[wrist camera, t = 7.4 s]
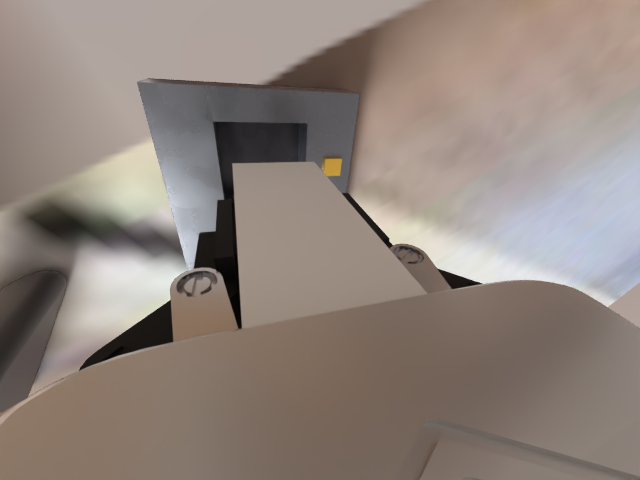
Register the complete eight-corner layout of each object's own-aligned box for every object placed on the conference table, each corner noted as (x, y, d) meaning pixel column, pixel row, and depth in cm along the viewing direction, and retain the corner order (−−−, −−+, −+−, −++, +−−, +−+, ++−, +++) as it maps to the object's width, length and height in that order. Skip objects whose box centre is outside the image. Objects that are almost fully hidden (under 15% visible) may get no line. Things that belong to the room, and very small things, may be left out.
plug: (232, 163, 12) (247, 425, 4) (314, 161, 13) (483, 358, 5) (241, 247, 15) (264, 517, 6) (309, 240, 16) (412, 460, 7)
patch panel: (148, 78, 15) (135, 82, 13) (345, 89, 18) (361, 94, 16) (207, 314, 26) (205, 339, 24) (323, 295, 29) (331, 314, 27)
